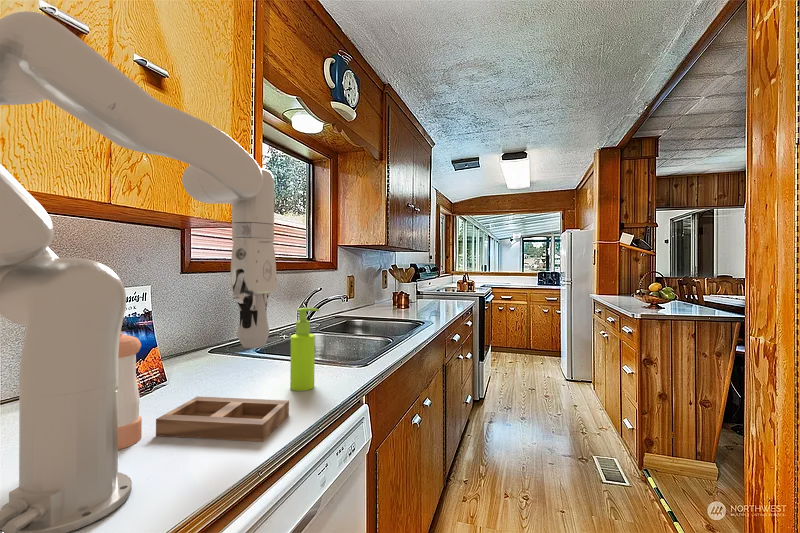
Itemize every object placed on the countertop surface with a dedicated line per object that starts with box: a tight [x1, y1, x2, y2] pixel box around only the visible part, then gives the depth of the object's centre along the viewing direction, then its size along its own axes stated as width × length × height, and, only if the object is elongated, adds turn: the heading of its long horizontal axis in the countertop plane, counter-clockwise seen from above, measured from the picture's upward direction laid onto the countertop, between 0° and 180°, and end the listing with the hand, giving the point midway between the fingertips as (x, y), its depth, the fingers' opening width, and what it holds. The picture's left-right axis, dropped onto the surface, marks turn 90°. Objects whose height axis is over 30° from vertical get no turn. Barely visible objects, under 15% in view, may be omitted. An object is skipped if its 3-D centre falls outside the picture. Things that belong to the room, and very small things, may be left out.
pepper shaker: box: [118, 331, 143, 451], centre depth 67 cm, size 7×7×19 cm
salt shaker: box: [236, 290, 270, 349], centre depth 74 cm, size 6×6×13 cm
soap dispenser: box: [289, 307, 320, 392], centre depth 98 cm, size 6×7×20 cm
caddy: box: [155, 396, 290, 443], centre depth 74 cm, size 12×20×3 cm, turn 85°
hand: (253, 329), depth 74 cm, fingers closed on salt shaker, 3 cm apart
